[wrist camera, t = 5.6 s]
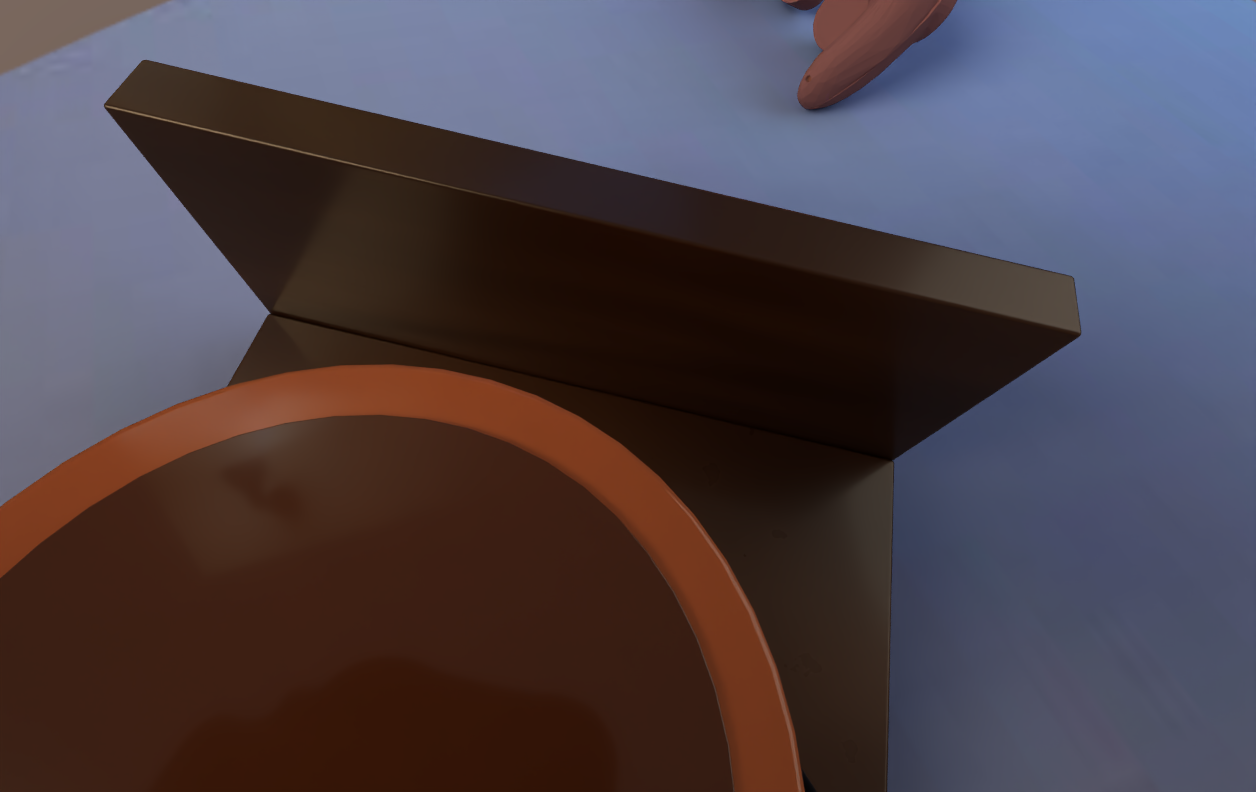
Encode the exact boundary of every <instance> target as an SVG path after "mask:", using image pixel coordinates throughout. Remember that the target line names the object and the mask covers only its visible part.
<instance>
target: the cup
mask: <svg viewBox="0 0 1256 792" xmlns="http://www.w3.org/2000/svg"><path fill="white" fill-rule="evenodd" d="M0 792H805V788H804V782H803V776H802V769H801V763H800V757H799V751H798V745H797V739H796V733H795V729H794V725H793V721H792V718H791V714H790V711H789V707H788V703H787V700H786V696H785V693H784V689H783V685H782V682H781V678H780V675H779V671H778V667H777V665H776V662H775V660H774V657H773V655H772V652H771V650H770V648H769V645H768V643H767V640H766V638H765V635H764V633H763V630H762V628H761V625H760V623H759V620H758V618H757V615H756V613H755V610H754V608H753V607H752V605H751V603H750V601H749V599H748V597H747V596H746V594H745V592H744V590H743V588H742V586H741V585H740V583H739V581H738V579H737V577H736V575H735V574H734V572H733V570H732V568H731V566H730V564H729V563H728V561H727V559H726V558H725V556H724V555H723V553H722V552H721V551H720V549H719V548H718V546H717V545H716V544H715V542H714V541H713V539H712V538H711V537H710V535H709V534H708V532H707V531H706V530H705V528H704V527H703V525H702V524H701V523H700V521H699V520H698V518H697V517H696V515H695V514H694V513H693V512H692V511H691V510H690V509H689V508H688V507H687V506H686V504H685V503H684V502H683V501H682V500H681V499H680V498H679V497H678V496H677V495H676V493H675V492H674V491H673V490H672V489H671V488H670V487H669V486H668V485H667V484H666V483H665V481H664V480H663V479H662V478H661V477H660V476H659V475H658V474H656V473H655V472H654V471H653V470H652V469H651V468H649V467H648V466H647V465H646V464H645V463H644V462H642V461H641V460H640V459H639V458H638V457H637V456H635V455H634V454H633V453H632V452H631V451H629V450H628V449H627V448H626V447H625V446H624V445H622V444H621V443H620V442H618V441H617V440H615V439H614V438H612V437H610V436H609V435H607V434H606V433H604V432H603V431H601V430H600V429H598V428H597V427H595V426H594V425H592V424H591V423H589V422H588V421H586V420H585V419H583V418H582V417H580V416H578V415H576V414H574V413H572V412H570V411H567V410H565V409H563V408H561V407H559V406H557V405H555V404H553V403H551V402H549V401H547V400H545V399H543V398H541V397H539V396H537V395H534V394H531V393H528V392H525V391H522V390H519V389H516V388H514V387H511V386H508V385H505V384H502V383H499V382H496V381H493V380H490V379H486V378H481V377H477V376H472V375H467V374H463V373H458V372H453V371H449V370H444V369H436V368H426V367H415V366H405V365H394V364H384V365H339V366H331V367H323V368H316V369H308V370H300V371H292V372H286V373H282V374H277V375H273V376H269V377H265V378H260V379H256V380H252V381H247V382H243V383H239V384H235V385H231V386H228V387H225V388H223V389H220V390H217V391H214V392H211V393H208V394H205V395H202V396H199V397H196V398H193V399H190V400H188V401H185V402H182V403H179V404H176V405H174V406H172V407H170V408H167V409H165V410H163V411H161V412H159V413H156V414H154V415H152V416H150V417H148V418H145V419H143V420H141V421H139V422H137V423H134V424H132V425H130V426H128V427H126V428H123V429H121V430H119V431H118V432H116V433H114V434H112V435H111V436H109V437H107V438H105V439H104V440H102V441H100V442H98V443H97V444H95V445H93V446H91V447H89V448H88V449H86V450H84V451H82V452H81V453H79V454H77V455H75V456H74V457H72V458H70V459H68V460H67V461H65V462H63V463H62V464H60V465H59V466H57V467H56V468H55V469H53V470H52V471H50V472H49V473H47V474H46V475H45V476H43V477H42V478H40V479H39V480H37V481H36V482H34V483H33V484H32V485H30V486H29V487H27V488H26V489H24V490H23V491H22V492H20V493H19V494H17V495H16V496H14V497H13V498H12V499H10V500H9V501H7V502H6V503H4V504H3V505H2V506H1V507H0Z"/></svg>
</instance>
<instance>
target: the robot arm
mask: <svg viewBox="0 0 1256 792" xmlns="http://www.w3.org/2000/svg"><path fill="white" fill-rule="evenodd" d="M801 769H802V768H801ZM802 776H803V782H804V788H805V792H817V791H816V790H815V788H814V786H813V785H812V783H811V782H810V780H809V779H808V777H807V775H806V774H805V772H804V771H803V769H802Z"/></svg>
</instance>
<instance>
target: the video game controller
mask: <svg viewBox="0 0 1256 792" xmlns="http://www.w3.org/2000/svg"><path fill="white" fill-rule="evenodd" d="M782 1H783V2H786V3H787V4H789V5H791V6H793V7H795V8H797V9H800V10H809V9H812V8H814V7H815V6H817V5H818V4H819V3H820V2H821V1H822V0H782ZM956 1H957V0H824V2H823V3H822V5H821V6H820V8H819V9H818V11H817V13H816V16H815V19H814V24H813V32H814V38H815V41H816V43H817V45H818V46H819V47H820V48H821V49H822V50H823V51H822V52H821V53H820V54H819V55H818V56H817V58H816V59H815V60H814V62H813V63H812V64H811V66H810V67H809V68H808V70H807V71H806V73H805V75H804V77H803V79H802V81H801V83H800V86H799V89H798V94H797V97H798V101H799V103H800V104H801V105H802V106H803V107H804V108H805V109H818V108H824V107H827V106H830V105H833V104H835V103H837V102H839V101H841V100H843V99H845V98H847V97H848V96H850V95H852V94H853V93H855V92H856V91H858V90H860V89H861V88H863V87H864V86H865V85H866V84H868V83H869V82H870V81H871V80H873V79H874V78H875V77H877V76H878V75H879V74H880V73H881V72H882V71H884V70H885V69H886V68H887V67H888V66H889V65H890V64H891V63H892V62H893V61H894V60H895V59H897V58H898V57H899V56H900V55H901V54H902V53H903V52H904V51H905V50H906V49H907V48H908V47H909V46H911V45H912V44H913V43H916V42H918V41H920V40H922V39H924V38H926V37H927V36H928V35H930V34H931V33H932V32H934V31H935V30H936V29H937V28H938V27H939V26H940V25H941V24H942V22H943V21H944V20H945V19H946V18H947V17H948V15H949V14H950V12H951V11H952V9H953V7H954V5H955V3H956Z"/></svg>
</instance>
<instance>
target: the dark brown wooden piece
mask: <svg viewBox="0 0 1256 792" xmlns="http://www.w3.org/2000/svg"><path fill="white" fill-rule="evenodd" d="M104 107H105V109H106V110H107V111H108V113H109V114H110V115H111V116H112V118H113V119H114V120H115V121H116V123H117V124H118V125H119V126H120V128H121V129H122V130H123V131H124V132H125V134H126V135H127V136H128V137H129V139H130V140H131V141H132V142H133V144H134V145H135V146H136V147H137V149H138V150H139V151H140V152H141V154H142V155H143V156H144V157H145V158H146V160H147V161H148V162H149V163H150V165H151V166H152V167H153V168H154V170H155V171H156V172H157V173H158V175H159V176H160V177H161V178H162V180H163V181H164V182H165V183H166V184H167V186H168V187H169V188H170V189H171V191H172V192H173V193H174V194H175V196H176V197H177V198H178V199H179V201H180V202H181V203H182V204H183V206H184V207H185V208H186V209H187V210H188V212H189V213H190V214H191V215H192V217H193V218H194V219H195V220H196V222H197V223H198V224H199V225H200V227H201V228H202V229H203V230H204V232H205V233H206V234H207V235H208V236H209V238H210V239H211V240H212V241H213V243H214V244H215V245H216V246H217V248H218V249H219V250H220V251H221V253H222V254H223V255H224V256H225V258H226V259H227V260H228V261H229V262H230V264H231V265H232V266H233V267H234V269H235V270H236V271H237V272H238V274H239V275H240V276H241V277H242V279H243V280H244V281H245V282H246V284H247V285H248V286H249V287H250V288H251V290H252V291H253V292H254V293H255V295H256V296H257V297H258V298H259V300H260V301H261V302H262V303H263V305H264V306H265V307H266V308H267V310H268V311H269V312H270V313H271V314H269V315H268V316H267V317H266V319H265V321H264V323H263V324H262V326H261V328H260V330H259V332H258V333H257V335H256V337H255V339H254V340H253V342H252V344H251V346H250V347H249V349H248V351H247V353H246V354H245V356H244V358H243V360H242V361H241V363H240V365H239V367H238V368H237V370H236V372H235V374H234V375H233V377H232V379H231V381H230V382H229V384H228V386H231V385H235V384H239V383H243V382H247V381H252V380H256V379H260V378H265V377H269V376H273V375H277V374H282V373H286V372H292V371H300V370H308V369H316V368H323V367H331V366H339V365H384V364H394V365H405V366H415V367H426V368H436V369H444V370H449V371H453V372H458V373H463V374H467V375H472V376H477V377H481V378H486V379H490V380H493V381H496V382H499V383H502V384H505V385H508V386H511V387H514V388H516V389H519V390H522V391H525V392H528V393H531V394H534V395H537V396H539V397H541V398H543V399H545V400H547V401H549V402H551V403H553V404H555V405H557V406H559V407H561V408H563V409H565V410H567V411H570V412H572V413H574V414H576V415H578V416H580V417H582V418H583V419H585V420H586V421H588V422H589V423H591V424H592V425H594V426H595V427H597V428H598V429H600V430H601V431H603V432H604V433H606V434H607V435H609V436H610V437H612V438H614V439H615V440H617V441H618V442H620V443H621V444H622V445H624V446H625V447H626V448H627V449H628V450H629V451H631V452H632V453H633V454H634V455H635V456H637V457H638V458H639V459H640V460H641V461H642V462H644V463H645V464H646V465H647V466H648V467H649V468H651V469H652V470H653V471H654V472H655V473H656V474H658V475H659V476H660V477H661V478H662V479H663V480H664V481H665V483H666V484H667V485H668V486H669V487H670V488H671V489H672V490H673V491H674V492H675V493H676V495H677V496H678V497H679V498H680V499H681V500H682V501H683V502H684V503H685V504H686V506H687V507H688V508H689V509H690V510H691V511H692V512H693V513H694V514H695V515H696V517H697V518H698V520H699V521H700V523H701V524H702V525H703V527H704V528H705V530H706V531H707V532H708V534H709V535H710V537H711V538H712V539H713V541H714V542H715V544H716V545H717V546H718V548H719V549H720V551H721V552H722V553H723V555H724V556H725V558H726V559H727V561H728V563H729V564H730V566H731V568H732V570H733V572H734V574H735V575H736V577H737V579H738V581H739V583H740V585H741V586H742V588H743V590H744V592H745V594H746V596H747V597H748V599H749V601H750V603H751V605H752V607H753V608H754V610H755V613H756V615H757V618H758V620H759V623H760V625H761V628H762V630H763V633H764V635H765V638H766V640H767V643H768V645H769V648H770V650H771V652H772V655H773V657H774V660H775V662H776V665H777V667H778V671H779V675H780V678H781V682H782V685H783V689H784V693H785V696H786V700H787V703H788V707H789V711H790V714H791V718H792V721H793V725H794V729H795V733H796V739H797V745H798V751H799V757H800V763H801V768H802V769H803V771H804V772H805V774H806V775H807V777H808V779H809V780H810V782H811V783H812V785H813V786H814V788H815V790H816V791H817V792H887V773H888V725H889V678H890V630H891V583H892V535H893V488H894V462H893V460H894V459H896V458H897V457H899V456H900V455H902V454H903V453H905V452H906V451H908V450H909V449H911V448H912V447H914V446H915V445H917V444H918V443H920V442H921V441H923V440H924V439H926V438H927V437H929V436H930V435H932V434H933V433H935V432H936V431H938V430H939V429H941V428H942V427H944V426H945V425H947V424H948V423H950V422H951V421H953V420H954V419H956V418H957V417H959V416H960V415H962V414H963V413H965V412H967V411H968V410H970V409H971V408H973V407H974V406H976V405H977V404H979V403H980V402H982V401H983V400H985V399H986V398H988V397H989V396H991V395H992V394H994V393H995V392H997V391H998V390H1000V389H1001V388H1003V387H1004V386H1006V385H1007V384H1009V383H1010V382H1012V381H1013V380H1015V379H1016V378H1018V377H1019V376H1021V375H1022V374H1024V373H1025V372H1027V371H1028V370H1030V369H1031V368H1033V367H1034V366H1036V365H1037V364H1039V363H1040V362H1042V361H1043V360H1045V359H1046V358H1048V357H1049V356H1051V355H1052V354H1054V353H1055V352H1057V351H1058V350H1060V349H1061V348H1063V347H1064V346H1066V345H1067V344H1069V343H1070V342H1072V341H1073V340H1075V339H1076V338H1078V337H1079V336H1080V335H1081V326H1080V319H1079V312H1078V305H1077V297H1076V290H1075V283H1074V278H1073V277H1072V276H1069V275H1064V274H1060V273H1056V272H1052V271H1047V270H1043V269H1039V268H1034V267H1030V266H1026V265H1022V264H1017V263H1013V262H1009V261H1005V260H1000V259H996V258H992V257H987V256H983V255H979V254H975V253H970V252H966V251H962V250H957V249H953V248H949V247H945V246H940V245H936V244H932V243H928V242H923V241H919V240H915V239H910V238H906V237H902V236H898V235H893V234H889V233H885V232H880V231H876V230H872V229H868V228H863V227H859V226H855V225H851V224H846V223H842V222H838V221H833V220H829V219H825V218H821V217H816V216H812V215H808V214H803V213H799V212H795V211H791V210H786V209H782V208H778V207H774V206H769V205H765V204H761V203H756V202H752V201H748V200H744V199H739V198H735V197H731V196H726V195H722V194H718V193H714V192H709V191H705V190H701V189H697V188H692V187H688V186H684V185H679V184H675V183H671V182H667V181H662V180H658V179H654V178H649V177H645V176H641V175H637V174H632V173H628V172H624V171H620V170H615V169H611V168H607V167H602V166H598V165H594V164H590V163H585V162H581V161H577V160H572V159H568V158H564V157H560V156H555V155H551V154H547V153H543V152H538V151H534V150H530V149H525V148H521V147H517V146H513V145H508V144H504V143H500V142H495V141H491V140H487V139H483V138H478V137H474V136H470V135H466V134H461V133H457V132H453V131H448V130H444V129H440V128H436V127H431V126H427V125H423V124H418V123H414V122H410V121H406V120H401V119H397V118H393V117H389V116H384V115H380V114H376V113H371V112H367V111H363V110H359V109H354V108H350V107H346V106H342V105H337V104H333V103H329V102H324V101H320V100H316V99H312V98H307V97H303V96H299V95H294V94H290V93H286V92H282V91H277V90H273V89H269V88H265V87H260V86H256V85H252V84H247V83H243V82H239V81H235V80H230V79H226V78H222V77H217V76H213V75H209V74H205V73H200V72H196V71H192V70H188V69H183V68H179V67H175V66H170V65H166V64H162V63H158V62H153V61H149V60H143V61H141V63H140V64H139V65H138V66H137V67H136V68H135V69H134V71H133V72H132V73H131V74H130V75H129V76H128V77H127V79H126V80H125V81H124V82H123V83H122V84H121V85H120V87H119V88H118V89H117V90H116V91H115V92H114V93H113V95H112V96H111V97H110V98H109V99H108V100H107V101H106V103H105V104H104ZM228 386H227V387H228Z"/></svg>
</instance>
